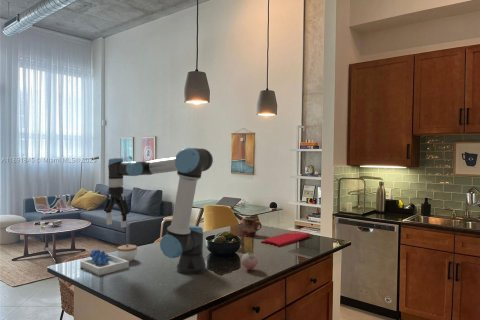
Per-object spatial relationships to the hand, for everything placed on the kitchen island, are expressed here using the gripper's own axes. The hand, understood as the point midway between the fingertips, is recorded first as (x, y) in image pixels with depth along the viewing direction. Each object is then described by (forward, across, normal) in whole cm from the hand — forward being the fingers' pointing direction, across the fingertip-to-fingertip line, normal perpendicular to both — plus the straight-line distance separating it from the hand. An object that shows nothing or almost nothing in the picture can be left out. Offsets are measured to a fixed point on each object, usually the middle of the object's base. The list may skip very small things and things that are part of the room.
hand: (116, 225), depth 193 cm
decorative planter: (+23, -10, -109) cm, 111 cm away
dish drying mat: (+24, -38, -114) cm, 123 cm away
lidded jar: (+22, +5, -10) cm, 25 cm away
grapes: (+20, +3, +6) cm, 21 cm away
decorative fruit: (+24, -59, -41) cm, 75 cm away
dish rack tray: (+22, +3, +6) cm, 23 cm away
